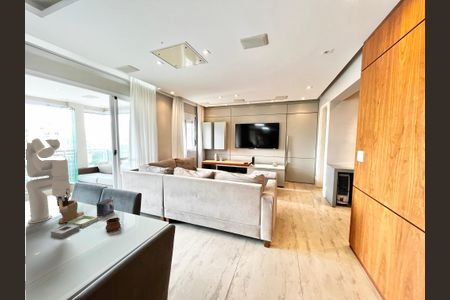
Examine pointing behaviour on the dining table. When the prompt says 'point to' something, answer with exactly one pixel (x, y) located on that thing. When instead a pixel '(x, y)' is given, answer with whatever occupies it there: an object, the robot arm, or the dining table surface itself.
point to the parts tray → (83, 220)
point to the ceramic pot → (113, 224)
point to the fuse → (62, 209)
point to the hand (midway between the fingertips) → (63, 205)
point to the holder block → (64, 231)
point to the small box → (105, 207)
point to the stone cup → (71, 212)
